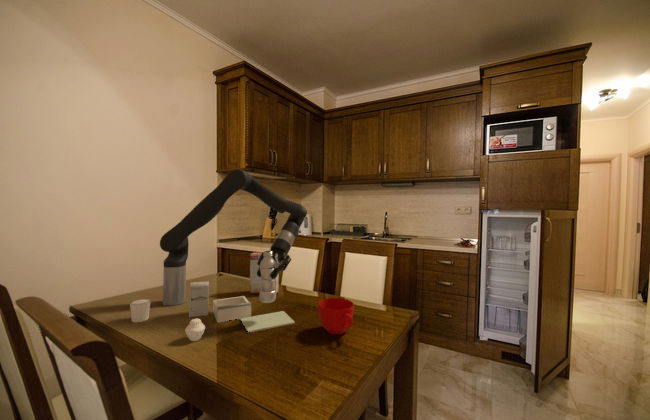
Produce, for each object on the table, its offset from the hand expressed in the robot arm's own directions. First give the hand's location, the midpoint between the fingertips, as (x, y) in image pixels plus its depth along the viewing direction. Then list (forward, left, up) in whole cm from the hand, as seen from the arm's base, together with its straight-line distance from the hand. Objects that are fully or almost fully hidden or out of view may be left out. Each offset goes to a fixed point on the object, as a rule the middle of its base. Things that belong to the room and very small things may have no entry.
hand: (265, 276), depth 108 cm
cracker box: (+11, +39, -18) cm, 44 cm away
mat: (+1, +1, -18) cm, 18 cm away
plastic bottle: (+1, +1, -11) cm, 11 cm away
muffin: (-25, -2, -18) cm, 31 cm away
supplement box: (-22, +22, -18) cm, 36 cm away
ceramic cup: (+21, -20, -18) cm, 35 cm away
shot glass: (-43, +26, -18) cm, 53 cm away
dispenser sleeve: (-10, +15, -18) cm, 25 cm away
